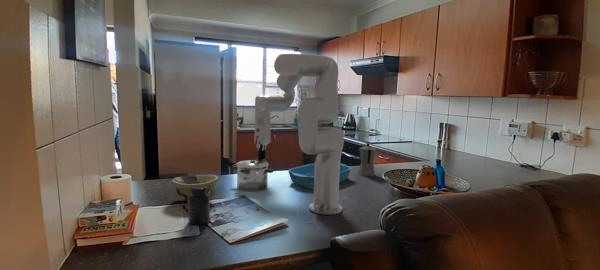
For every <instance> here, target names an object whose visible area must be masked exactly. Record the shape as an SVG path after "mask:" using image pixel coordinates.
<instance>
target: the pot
mask: <svg viewBox="0 0 600 270" xmlns="http://www.w3.org/2000/svg"><path fill="white" fill-rule="evenodd" d="M268 167H269V166H268ZM268 167H265V168H260V169H245V168H240V167H237V165H233V166H232V170H236V171H237V173H236V175H237V177H236V179H237V180H236V184H237V185H236V187H237V189H238V190H240V191H243V192H259V191H264V190H266V189H268V179H269V178H268V177H269V176H268V174H272V173H274V169H273V168H268Z"/></svg>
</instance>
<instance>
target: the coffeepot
mask: <svg viewBox="0 0 600 270" xmlns="http://www.w3.org/2000/svg"><path fill="white" fill-rule="evenodd" d="M358 150H359V156H360V164H359V169H358V173H357V174H358V175H359V176H361V175H362V177H368V176H370V177H374V176H375V175H376V173H375V163H374V160H375V159H376V158H375V157H376V153H377V148H375V147H372V146H370V143H369V142H366V146H362V147H359V149H358Z"/></svg>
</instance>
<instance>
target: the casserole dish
mask: <svg viewBox="0 0 600 270" xmlns="http://www.w3.org/2000/svg"><path fill="white" fill-rule="evenodd" d="M314 170H315V162H314V163H309V164H303V165H301V166H296V167H292V168H289V169H288V174H289V177H290V181H291V182H292V183H293V184H294V185H296V186H299V187H300V186H301V187H303V188H308V189H313V190H314ZM351 170H352V167H351V166H349V165H346V164H344V163H340V175H339V184H340V183H342V182H344V181H346V180H347V179H348V178H349V175H350V173H351Z"/></svg>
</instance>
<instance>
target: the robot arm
mask: <svg viewBox="0 0 600 270" xmlns="http://www.w3.org/2000/svg"><path fill="white" fill-rule="evenodd" d="M273 69H274V71H275V72H276V74H278V77H277V78H276V85H277V86H278V88H279V89H280V90H281V91H282V92H284V93H283V94H282V95H256V96H255V99H254V100H255V101H254V124H255V127H254V138H253V139H254V144H255V145H256V148H257V150H258V152H257V156H258V158H263V159H264V158H266V155H267V154H266V150H267V146H268V144H271V141H272V139H271V138H272V137H271V135H272V134H271V133H272V132H271V113H273V112H276V113H280V112H281V113H283V112H286V111H287V110H289V108H290V107H291V106H292V104H293V103H294V100H295V97H296V92H295V87H297V85H298V84H299V82H300V81H301V80H302V79H303V77H307V78H317V80H316V82H315V85H314V97H306V98H304V99H303V100H301V102H300V103H299V105H298V108H297V130H298V143H299V148H300V150H301V152H302V153H304V154H306V155H317V156H316V158H315V161H314V163H315V170H314V189H313V199H312V200H313V202H311V203H309V206H308V208H309V210H310V211H311V212H312V213H316V214H319V215H323V216H324V215H328V216H331V215H337V214H340V213H342V211H343V206H342V205H341V204H340V203H339V194H340V183H339V175H340V164H341V160H342V159H341V157H342V153H343V148H344V144H345V140H344V139H345V137H344V134H343V132H342V131H341V130H340V129H339V128H338V127H333V126H323V127H321V126H320V127H318V125H322V124H332V123H335V122H336V121H337V119H339V92H338V91H339V90H338V82H339V81H338V80H339V66H338V63H337V62H336V60H335V59H333V58H332V57H330V56H327V55H322V54H321V55H320V54H314V53H307V52H306V53H305V52H285V53H280V54H278V56H277V57H276V58H275V60H274V64H273ZM258 158H257V159H258Z"/></svg>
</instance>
